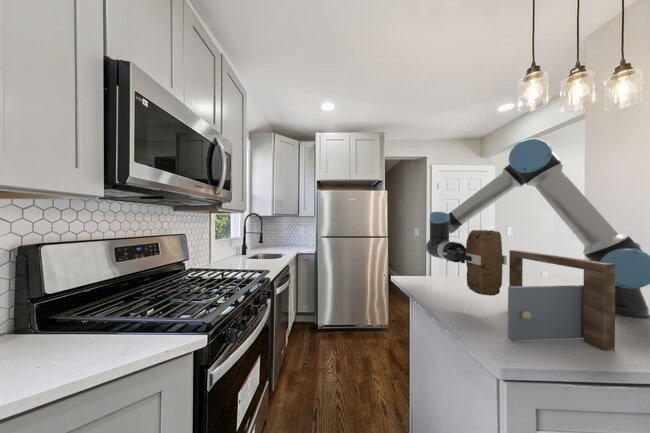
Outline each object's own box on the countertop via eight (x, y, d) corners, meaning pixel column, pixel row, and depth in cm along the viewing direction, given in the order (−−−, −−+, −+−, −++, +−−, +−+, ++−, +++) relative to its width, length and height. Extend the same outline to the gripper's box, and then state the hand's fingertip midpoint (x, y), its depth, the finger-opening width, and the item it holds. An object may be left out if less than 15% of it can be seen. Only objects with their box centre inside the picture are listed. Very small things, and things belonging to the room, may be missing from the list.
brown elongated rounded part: (504, 297, 83) (505, 231, 83) (479, 296, 83) (480, 230, 83) (484, 288, 94) (485, 229, 94) (462, 287, 94) (463, 229, 94)
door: (582, 335, 71) (582, 285, 71) (596, 341, 67) (596, 288, 68) (507, 338, 69) (507, 286, 69) (518, 344, 65) (518, 289, 65)
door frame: (517, 309, 92) (517, 250, 93) (614, 350, 64) (615, 264, 64) (509, 309, 92) (509, 250, 92) (603, 350, 64) (603, 264, 64)
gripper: (476, 261, 107) (523, 272, 85) (426, 261, 106) (460, 272, 83) (476, 241, 108) (524, 247, 85) (426, 241, 106) (460, 248, 83)
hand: (492, 260), depth 84 cm, fingers closed on brown elongated rounded part, 8 cm apart
